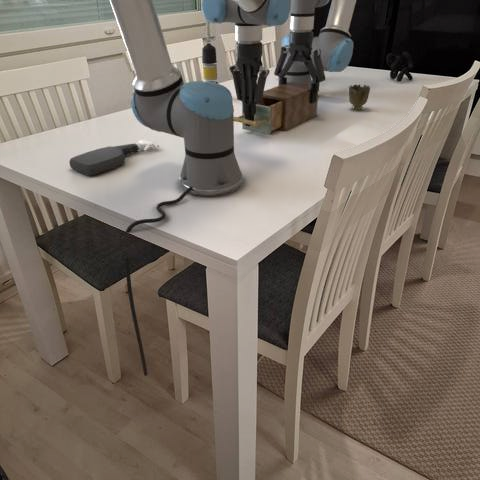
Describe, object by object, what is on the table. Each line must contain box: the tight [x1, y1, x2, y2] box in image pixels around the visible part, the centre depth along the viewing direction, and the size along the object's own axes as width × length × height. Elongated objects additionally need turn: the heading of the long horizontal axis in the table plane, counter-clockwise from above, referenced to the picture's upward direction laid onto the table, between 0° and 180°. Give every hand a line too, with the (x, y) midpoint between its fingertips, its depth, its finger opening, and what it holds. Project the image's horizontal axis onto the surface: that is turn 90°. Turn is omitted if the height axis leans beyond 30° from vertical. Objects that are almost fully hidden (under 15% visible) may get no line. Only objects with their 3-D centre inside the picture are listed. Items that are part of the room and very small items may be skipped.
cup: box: [348, 84, 371, 111], centre depth 160 cm, size 7×7×8 cm
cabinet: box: [263, 82, 319, 132], centre depth 151 cm, size 20×11×10 cm, turn 142°
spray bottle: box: [68, 139, 160, 177], centre depth 124 cm, size 3×11×24 cm
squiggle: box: [385, 51, 414, 83], centre depth 198 cm, size 11×10×15 cm
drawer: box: [234, 97, 284, 136], centre depth 143 cm, size 25×10×8 cm, turn 142°
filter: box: [201, 19, 219, 84], centre depth 171 cm, size 6×6×30 cm
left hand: (249, 124), depth 137 cm, fingers closed
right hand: (297, 99), depth 155 cm, fingers closed on cabinet, 11 cm apart
